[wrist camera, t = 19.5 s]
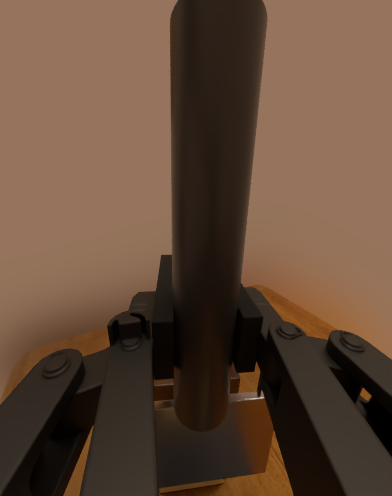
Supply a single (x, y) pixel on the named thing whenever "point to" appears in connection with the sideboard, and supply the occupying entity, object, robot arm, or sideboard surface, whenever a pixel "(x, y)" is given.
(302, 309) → the sideboard surface
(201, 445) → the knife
